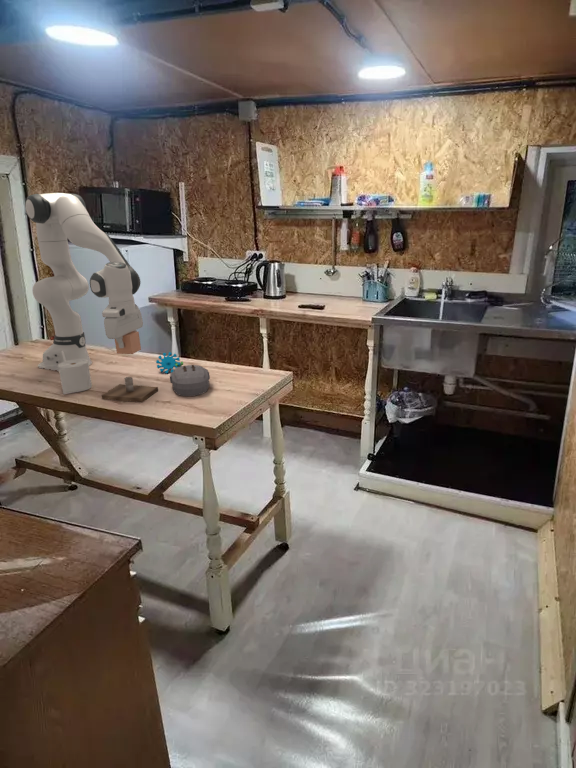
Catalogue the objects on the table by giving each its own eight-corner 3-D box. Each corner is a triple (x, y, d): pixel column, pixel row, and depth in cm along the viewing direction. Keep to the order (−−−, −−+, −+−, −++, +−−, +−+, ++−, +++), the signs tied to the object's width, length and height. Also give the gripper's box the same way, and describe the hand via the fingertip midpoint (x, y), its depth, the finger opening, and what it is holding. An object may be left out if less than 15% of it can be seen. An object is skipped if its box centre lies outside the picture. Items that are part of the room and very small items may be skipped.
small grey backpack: (170, 382, 195) (172, 400, 177) (168, 362, 192) (169, 378, 174) (208, 378, 199) (214, 395, 181) (206, 358, 196) (212, 374, 178)
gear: (153, 371, 203) (158, 349, 207) (155, 377, 208) (159, 356, 213) (181, 373, 204) (184, 352, 208) (182, 380, 209) (185, 359, 214)
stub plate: (102, 399, 179) (99, 382, 176) (120, 387, 190) (117, 371, 187) (141, 402, 175) (139, 385, 173) (158, 390, 186) (156, 374, 184)
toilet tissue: (91, 381, 197) (88, 357, 193) (92, 391, 186) (88, 366, 183) (62, 385, 193) (58, 361, 190) (61, 395, 183) (56, 370, 179)
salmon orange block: (116, 353, 183) (113, 335, 180) (125, 349, 189) (123, 331, 186) (132, 354, 181) (129, 335, 179) (141, 349, 187) (138, 331, 185)
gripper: (129, 302, 190) (134, 337, 194) (98, 313, 171) (105, 351, 175) (144, 303, 188) (149, 338, 193) (115, 313, 169) (121, 352, 174)
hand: (127, 344), depth 184 cm, fingers closed on salmon orange block, 6 cm apart
